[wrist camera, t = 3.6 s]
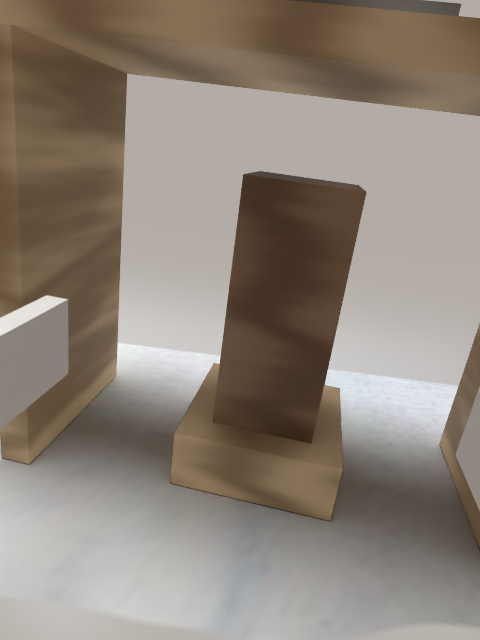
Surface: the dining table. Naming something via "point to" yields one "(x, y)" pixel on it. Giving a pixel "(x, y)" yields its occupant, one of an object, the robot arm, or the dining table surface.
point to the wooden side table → (107, 189)
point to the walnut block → (284, 301)
